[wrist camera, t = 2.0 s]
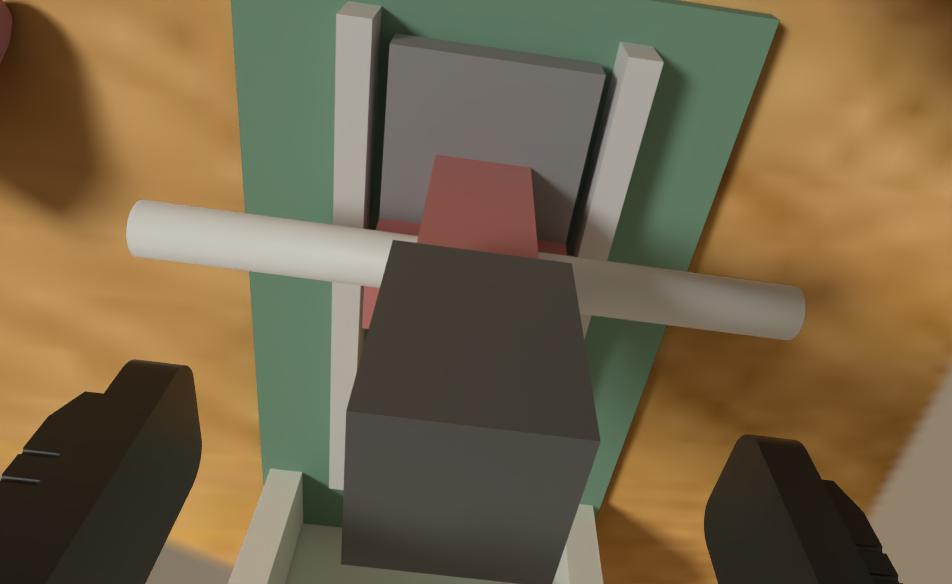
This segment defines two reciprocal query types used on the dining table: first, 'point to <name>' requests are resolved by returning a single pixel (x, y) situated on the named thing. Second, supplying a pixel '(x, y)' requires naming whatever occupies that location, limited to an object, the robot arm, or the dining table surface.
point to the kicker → (470, 310)
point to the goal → (326, 580)
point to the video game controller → (5, 28)
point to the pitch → (360, 175)
